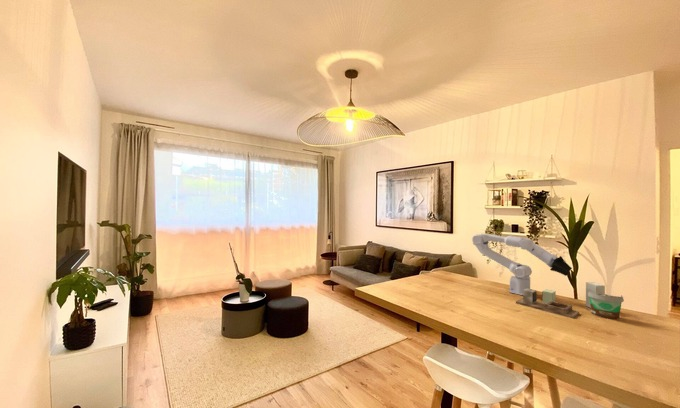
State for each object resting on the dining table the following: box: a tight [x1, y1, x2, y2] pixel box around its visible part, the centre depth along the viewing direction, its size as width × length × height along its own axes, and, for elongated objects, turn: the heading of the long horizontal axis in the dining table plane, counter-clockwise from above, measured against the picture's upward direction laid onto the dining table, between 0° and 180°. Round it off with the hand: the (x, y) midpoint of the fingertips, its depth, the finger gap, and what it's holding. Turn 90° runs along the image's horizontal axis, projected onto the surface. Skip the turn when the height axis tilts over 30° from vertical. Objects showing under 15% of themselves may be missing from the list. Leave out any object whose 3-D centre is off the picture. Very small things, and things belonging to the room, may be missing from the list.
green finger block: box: [541, 288, 556, 304], centre depth 143 cm, size 4×5×6 cm
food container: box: [587, 292, 625, 320], centre depth 124 cm, size 12×6×10 cm, turn 62°
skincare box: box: [585, 281, 606, 309], centre depth 135 cm, size 6×4×12 cm
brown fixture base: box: [515, 288, 580, 319], centre depth 134 cm, size 23×9×7 cm, turn 36°
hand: (569, 272), depth 141 cm, fingers open, 7 cm apart
